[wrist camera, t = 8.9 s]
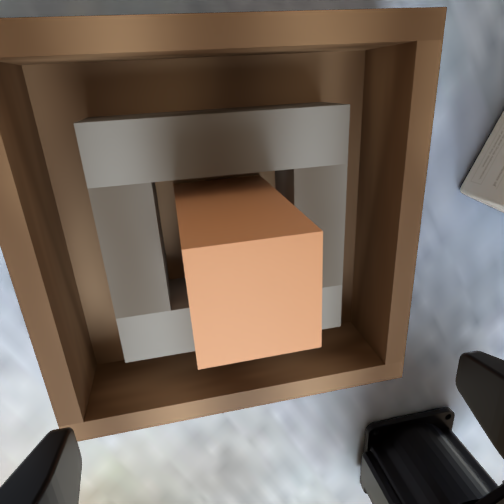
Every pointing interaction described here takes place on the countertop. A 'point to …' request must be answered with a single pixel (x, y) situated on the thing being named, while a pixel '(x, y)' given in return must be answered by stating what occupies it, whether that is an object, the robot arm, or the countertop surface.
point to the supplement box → (488, 171)
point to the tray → (203, 169)
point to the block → (248, 270)
